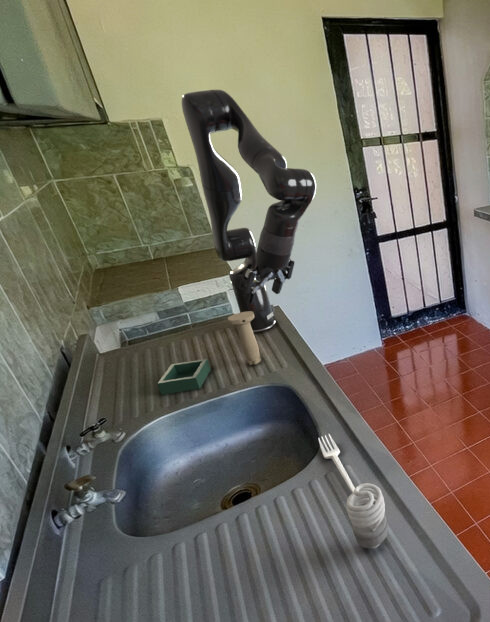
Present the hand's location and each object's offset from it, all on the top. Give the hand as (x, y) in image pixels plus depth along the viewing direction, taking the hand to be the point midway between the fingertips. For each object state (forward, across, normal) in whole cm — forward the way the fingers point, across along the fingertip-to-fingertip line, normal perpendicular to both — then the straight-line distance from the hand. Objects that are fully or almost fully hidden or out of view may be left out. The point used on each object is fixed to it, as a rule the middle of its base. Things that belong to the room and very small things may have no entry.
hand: (262, 297), depth 118 cm
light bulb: (-5, +36, +63) cm, 73 cm away
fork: (+2, +24, +48) cm, 53 cm away
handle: (+24, -2, +2) cm, 24 cm away
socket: (+30, +12, -7) cm, 33 cm away
